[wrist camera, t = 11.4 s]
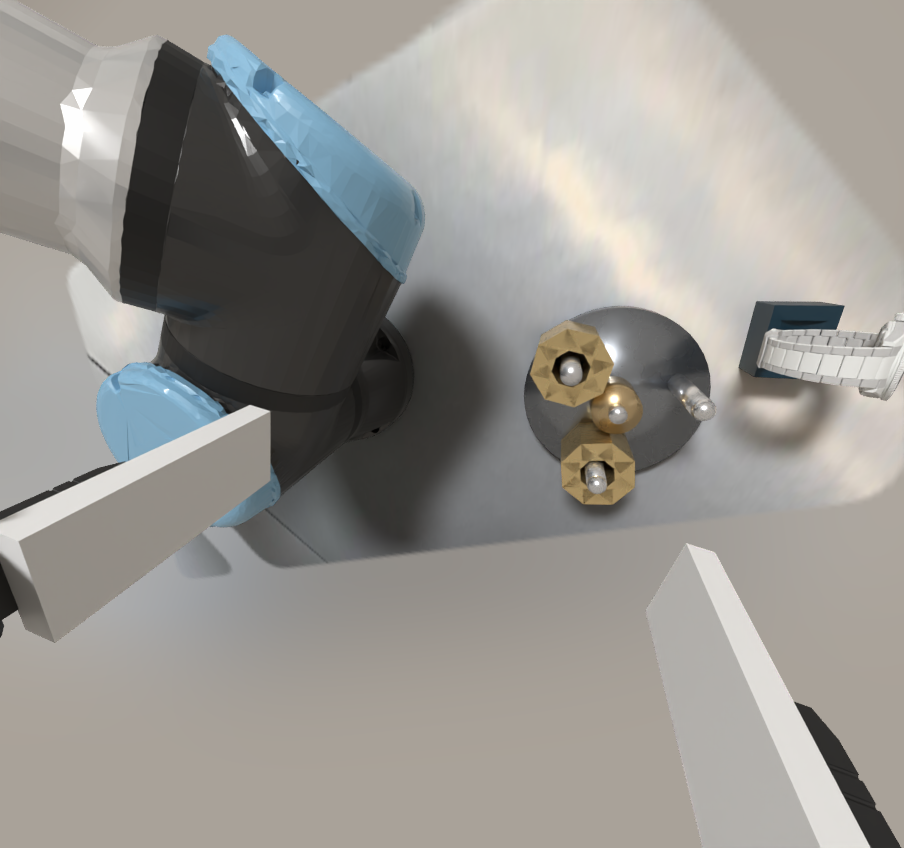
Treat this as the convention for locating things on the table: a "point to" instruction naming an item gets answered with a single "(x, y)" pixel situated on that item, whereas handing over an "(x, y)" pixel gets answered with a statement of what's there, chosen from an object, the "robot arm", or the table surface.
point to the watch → (823, 348)
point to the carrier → (631, 389)
